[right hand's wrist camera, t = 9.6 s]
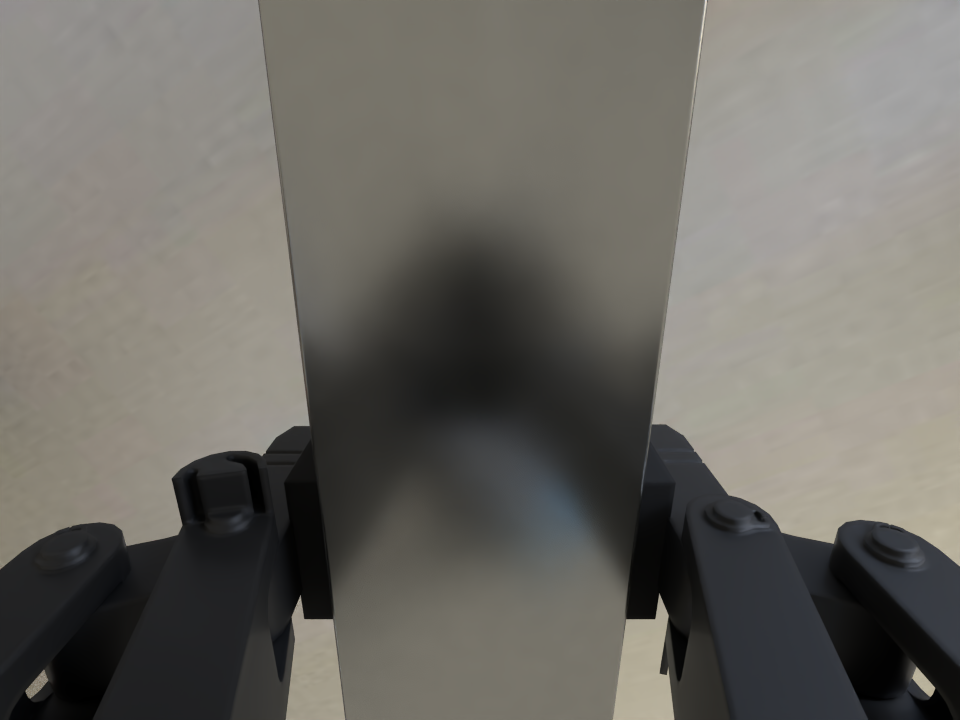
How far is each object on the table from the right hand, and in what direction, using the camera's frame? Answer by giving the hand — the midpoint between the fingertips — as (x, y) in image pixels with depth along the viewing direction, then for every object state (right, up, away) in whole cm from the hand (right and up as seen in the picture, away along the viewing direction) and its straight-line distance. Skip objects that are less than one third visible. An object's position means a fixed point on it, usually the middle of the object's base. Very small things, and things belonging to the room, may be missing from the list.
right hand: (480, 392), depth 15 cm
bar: (0, +9, -3) cm, 10 cm away
